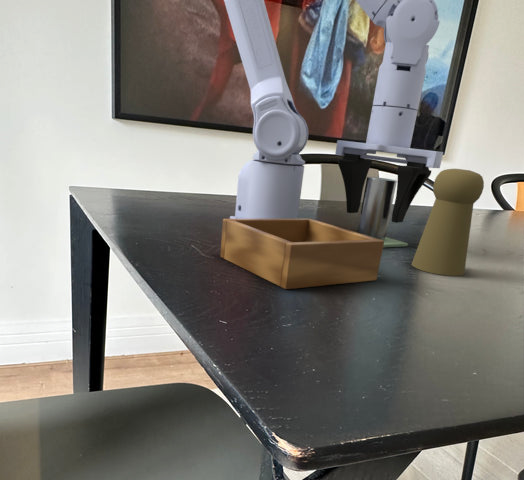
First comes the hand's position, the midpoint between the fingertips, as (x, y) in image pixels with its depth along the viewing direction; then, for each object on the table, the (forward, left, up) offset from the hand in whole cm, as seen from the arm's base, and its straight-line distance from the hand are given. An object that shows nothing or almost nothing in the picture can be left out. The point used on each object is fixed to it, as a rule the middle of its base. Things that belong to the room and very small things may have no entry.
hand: (374, 217), depth 69 cm
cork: (+14, -3, -3) cm, 15 cm away
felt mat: (0, 0, -3) cm, 3 cm away
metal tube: (0, 0, -3) cm, 3 cm away
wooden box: (+10, -21, -3) cm, 24 cm away
